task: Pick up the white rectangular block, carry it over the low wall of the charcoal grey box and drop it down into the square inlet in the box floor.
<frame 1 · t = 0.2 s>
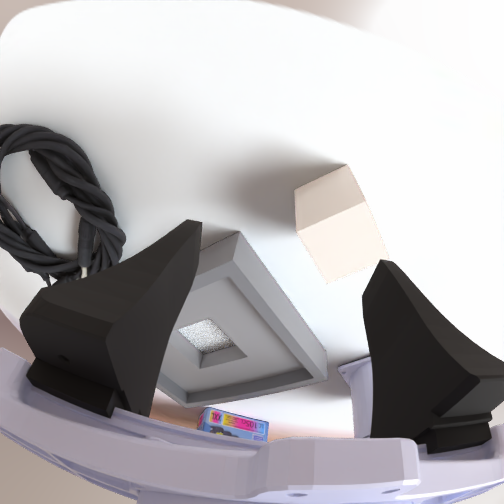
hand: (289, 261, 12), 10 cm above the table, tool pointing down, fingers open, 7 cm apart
cable: (54, 197, 23), on the table
white rectangular block: (333, 200, 21), on the table
walled box: (208, 330, 30), on the table
ink cartridge box: (233, 418, 42), on the table
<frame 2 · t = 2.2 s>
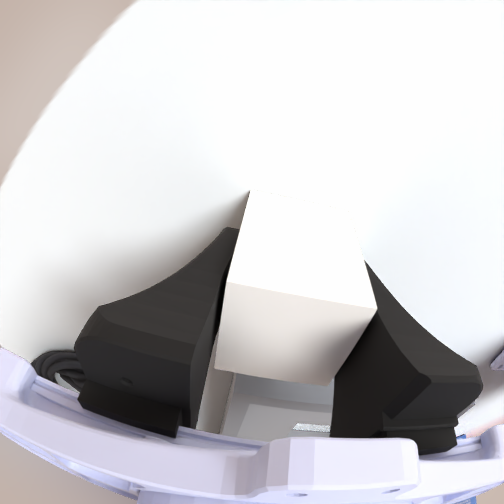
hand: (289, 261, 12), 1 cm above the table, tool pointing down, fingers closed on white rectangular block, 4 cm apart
cable: (109, 388, 25), on the table
white rectangular block: (289, 241, 13), on the table, touching gripper
walled box: (322, 418, 23), on the table
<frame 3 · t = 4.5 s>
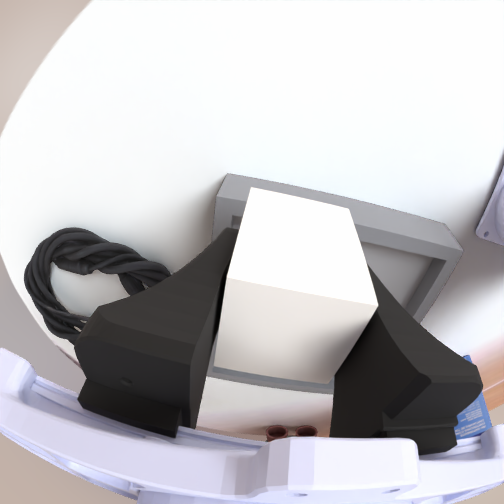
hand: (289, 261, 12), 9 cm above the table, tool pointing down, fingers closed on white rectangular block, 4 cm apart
cable: (102, 283, 28), on the table
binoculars: (292, 425, 40), on the table
white rectangular block: (289, 239, 13), point 7 cm above the table, touching gripper
walled box: (312, 297, 25), on the table
ink cartridge box: (433, 375, 31), on the table
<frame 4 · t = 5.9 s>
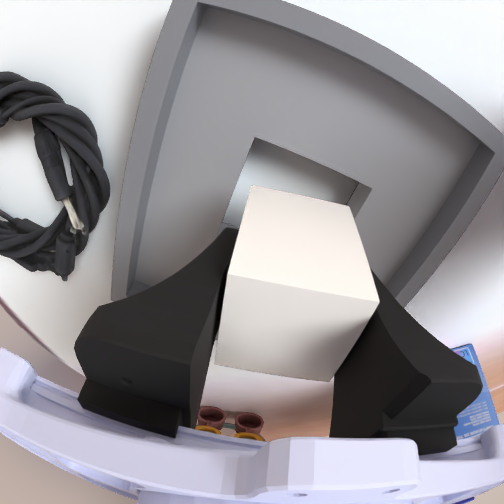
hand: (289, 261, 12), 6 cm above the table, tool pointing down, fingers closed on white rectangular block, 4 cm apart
cable: (20, 158, 17), on the table
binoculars: (231, 410, 32), on the table
white rectangular block: (290, 237, 13), point 4 cm above the table, touching gripper
walled box: (290, 198, 17), on the table
ink cartridge box: (423, 366, 25), on the table
when the fingers open (4 cm above the table, at t = 7.0 s): white rectangular block drops 2 cm, resting in walled box.
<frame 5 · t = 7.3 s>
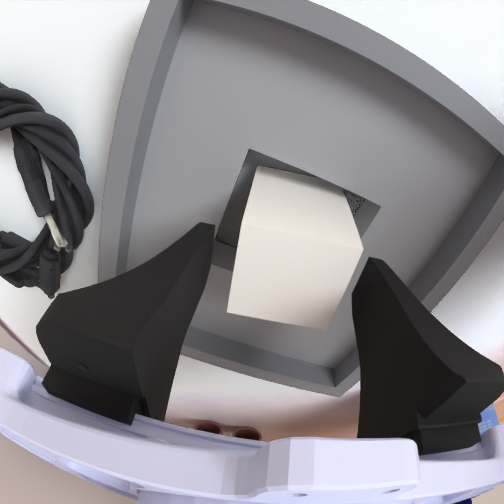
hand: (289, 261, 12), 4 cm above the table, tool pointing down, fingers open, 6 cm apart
cable: (3, 169, 16), on the table
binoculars: (229, 424, 31), on the table
white rectangular block: (290, 210, 15), resting in walled box
walled box: (289, 214, 15), on the table
ink cartridge box: (427, 382, 24), on the table
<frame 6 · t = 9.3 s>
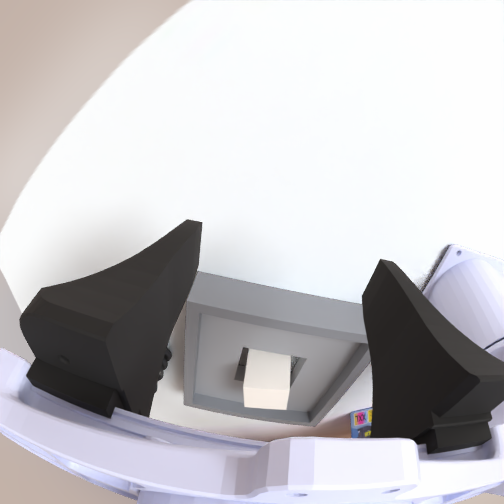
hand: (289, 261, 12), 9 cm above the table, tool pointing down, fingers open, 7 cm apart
white rectangular block: (270, 352, 31), resting in walled box
walled box: (269, 354, 31), on the table
ink cartridge box: (384, 409, 37), on the table
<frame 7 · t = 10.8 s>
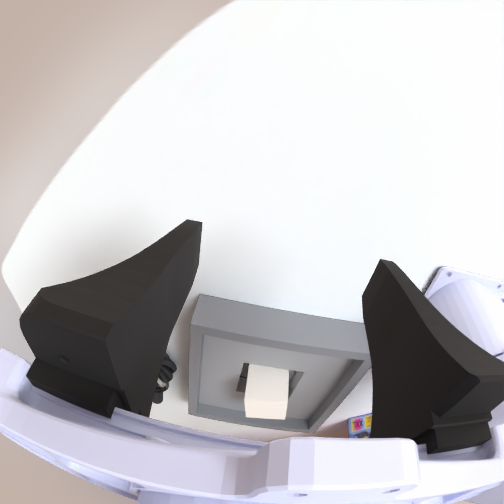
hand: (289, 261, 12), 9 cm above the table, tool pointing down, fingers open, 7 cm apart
cable: (111, 345, 35), on the table
white rectangular block: (269, 366, 32), resting in walled box
walled box: (269, 367, 32), on the table
ink cartridge box: (381, 415, 38), on the table
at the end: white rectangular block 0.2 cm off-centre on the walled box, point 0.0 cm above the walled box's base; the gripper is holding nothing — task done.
